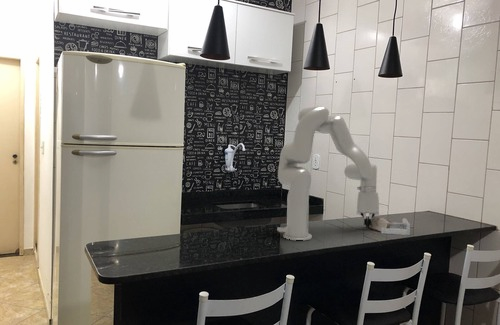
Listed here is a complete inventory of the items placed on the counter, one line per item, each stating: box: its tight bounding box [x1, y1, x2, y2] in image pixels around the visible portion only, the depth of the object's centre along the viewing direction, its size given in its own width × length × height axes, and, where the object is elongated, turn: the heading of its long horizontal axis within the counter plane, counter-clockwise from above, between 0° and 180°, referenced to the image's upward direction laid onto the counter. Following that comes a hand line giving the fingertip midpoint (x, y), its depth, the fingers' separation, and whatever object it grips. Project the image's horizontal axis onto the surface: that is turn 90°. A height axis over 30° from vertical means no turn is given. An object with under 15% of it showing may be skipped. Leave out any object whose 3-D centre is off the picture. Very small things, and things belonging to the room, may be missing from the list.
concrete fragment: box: [366, 216, 391, 232], centre depth 197 cm, size 7×14×6 cm, turn 16°
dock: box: [380, 217, 411, 236], centre depth 194 cm, size 12×15×5 cm
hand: (367, 226), depth 197 cm, fingers closed
